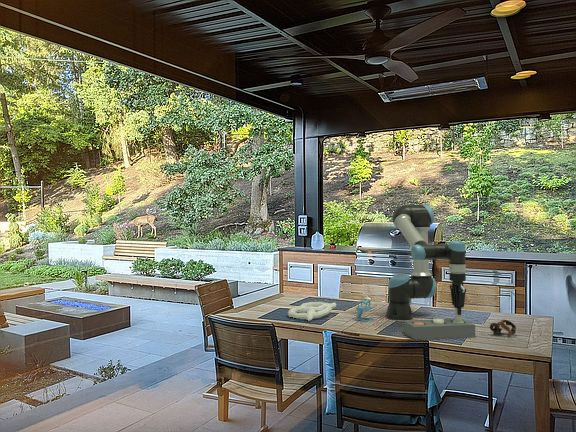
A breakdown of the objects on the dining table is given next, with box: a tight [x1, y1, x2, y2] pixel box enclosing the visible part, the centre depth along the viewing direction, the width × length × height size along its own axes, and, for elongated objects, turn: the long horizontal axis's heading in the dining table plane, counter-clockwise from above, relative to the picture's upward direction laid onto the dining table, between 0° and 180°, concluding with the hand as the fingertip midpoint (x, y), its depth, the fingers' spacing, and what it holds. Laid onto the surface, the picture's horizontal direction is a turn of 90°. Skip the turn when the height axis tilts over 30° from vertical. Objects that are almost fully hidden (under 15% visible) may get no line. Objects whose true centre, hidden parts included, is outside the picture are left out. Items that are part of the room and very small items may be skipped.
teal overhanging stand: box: [355, 298, 374, 323], centre depth 262 cm, size 8×8×12 cm
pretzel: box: [287, 301, 337, 322], centre depth 274 cm, size 28×24×6 cm
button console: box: [403, 318, 476, 340], centre depth 227 cm, size 14×30×6 cm, turn 96°
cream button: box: [432, 317, 445, 324], centre depth 227 cm, size 5×5×3 cm
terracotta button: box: [413, 322, 424, 325], centre depth 226 cm, size 5×5×3 cm
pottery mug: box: [489, 319, 517, 338], centre depth 225 cm, size 12×10×8 cm
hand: (458, 320), depth 228 cm, fingers closed
